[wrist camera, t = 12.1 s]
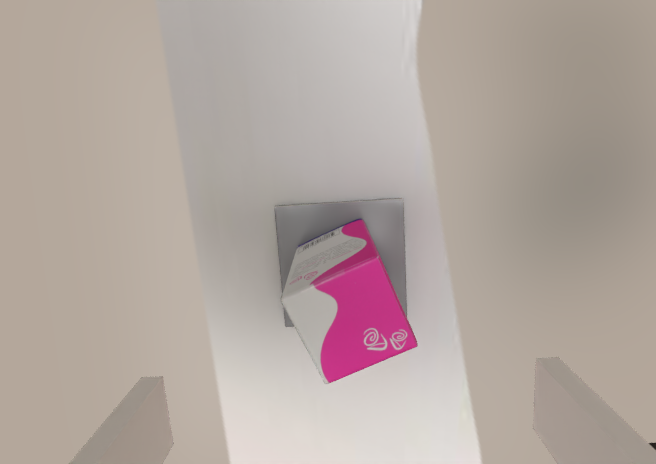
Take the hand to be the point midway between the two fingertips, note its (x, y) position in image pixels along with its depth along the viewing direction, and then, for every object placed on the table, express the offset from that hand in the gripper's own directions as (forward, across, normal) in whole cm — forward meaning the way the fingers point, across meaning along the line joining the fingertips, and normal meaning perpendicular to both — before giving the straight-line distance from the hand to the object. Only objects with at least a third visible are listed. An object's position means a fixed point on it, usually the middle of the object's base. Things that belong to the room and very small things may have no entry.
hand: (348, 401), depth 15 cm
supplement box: (+19, 0, 0) cm, 19 cm away
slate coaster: (+19, 0, 0) cm, 19 cm away
